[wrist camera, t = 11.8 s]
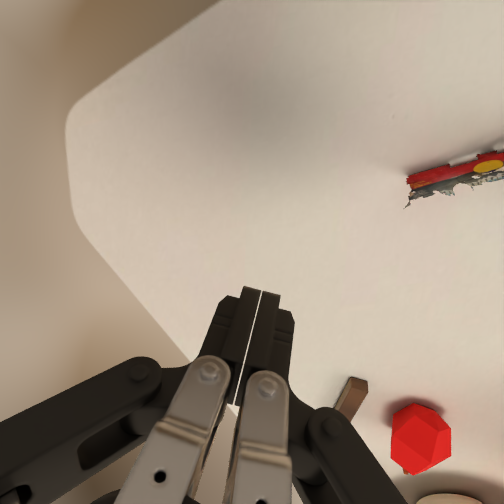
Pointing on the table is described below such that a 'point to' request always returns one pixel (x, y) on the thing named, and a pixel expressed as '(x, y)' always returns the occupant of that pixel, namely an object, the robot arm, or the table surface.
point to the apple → (419, 439)
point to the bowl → (448, 499)
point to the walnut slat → (352, 397)
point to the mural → (457, 175)
